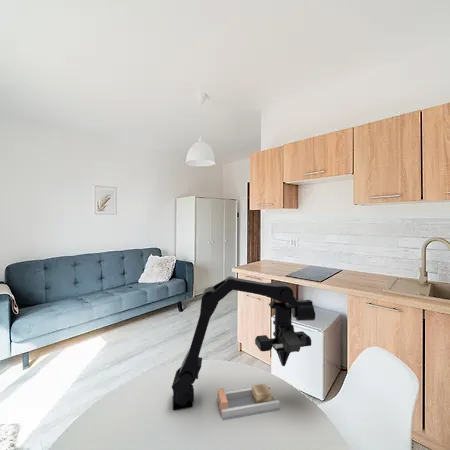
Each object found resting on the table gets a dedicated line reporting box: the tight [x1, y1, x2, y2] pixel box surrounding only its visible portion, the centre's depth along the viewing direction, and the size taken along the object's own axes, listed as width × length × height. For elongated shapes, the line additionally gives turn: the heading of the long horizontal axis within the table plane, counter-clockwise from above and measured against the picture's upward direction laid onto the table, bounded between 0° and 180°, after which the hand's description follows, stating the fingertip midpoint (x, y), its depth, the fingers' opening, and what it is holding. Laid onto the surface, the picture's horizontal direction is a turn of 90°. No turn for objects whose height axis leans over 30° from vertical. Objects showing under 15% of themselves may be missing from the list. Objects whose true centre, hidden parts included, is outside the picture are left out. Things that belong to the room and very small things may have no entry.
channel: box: [216, 384, 281, 421], centre depth 80 cm, size 19×10×5 cm, turn 103°
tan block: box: [251, 383, 272, 404], centre depth 81 cm, size 5×5×4 cm
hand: (283, 365), depth 83 cm, fingers closed
